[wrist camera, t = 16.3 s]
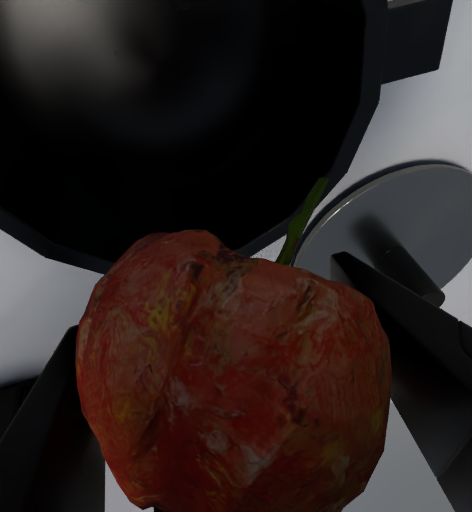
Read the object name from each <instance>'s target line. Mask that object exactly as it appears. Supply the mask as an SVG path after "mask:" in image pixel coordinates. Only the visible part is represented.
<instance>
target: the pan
mask: <svg viewBox="0 0 472 512" xmlns="http://www.w3.org/2000/svg"><path fill="white" fill-rule="evenodd" d="M452 2H453V0H392V1H387V0H0V229H1V230H3V231H4V232H6V233H7V234H9V235H11V236H12V237H14V238H15V239H17V240H18V241H20V242H21V243H23V244H25V245H26V246H28V247H29V248H31V249H32V250H34V251H36V252H37V253H39V254H40V255H42V256H44V257H45V258H49V259H52V260H56V261H59V262H63V263H66V264H69V265H73V266H76V267H80V268H83V269H87V270H90V271H94V272H97V273H101V274H104V275H105V274H106V273H107V272H108V271H109V270H110V268H111V267H112V266H113V265H114V264H115V263H116V262H117V261H118V260H119V258H120V257H121V256H122V255H123V254H124V253H125V252H126V250H128V249H129V248H130V247H131V246H132V245H133V244H134V243H135V242H136V241H137V240H140V239H142V238H144V237H145V236H147V235H149V234H151V233H162V232H164V233H173V232H176V233H177V232H180V231H183V230H196V229H197V230H207V231H208V232H210V233H212V234H213V235H215V236H217V237H218V238H219V239H220V241H221V242H222V243H223V244H224V246H225V247H227V248H228V249H230V250H232V251H233V252H236V253H238V254H241V255H244V256H247V257H251V256H252V255H254V254H256V253H257V252H259V251H260V250H262V249H264V248H265V247H267V246H268V245H270V244H272V243H273V242H275V241H276V240H278V239H280V238H281V237H283V236H284V235H286V234H287V231H288V225H289V223H290V222H291V220H292V219H293V218H294V217H295V216H297V215H298V214H299V213H300V212H301V210H302V207H303V205H304V202H305V200H306V197H307V196H308V194H309V193H310V191H311V189H312V188H313V186H314V185H315V183H316V182H317V180H318V179H319V177H320V178H328V179H329V180H328V183H327V185H326V187H325V189H324V191H323V193H322V195H321V197H320V199H319V201H318V203H317V205H316V207H317V206H318V205H319V204H320V203H321V201H322V200H323V199H324V198H325V197H326V196H327V195H328V193H329V192H330V191H331V190H332V189H333V188H334V187H335V186H336V184H337V183H338V182H339V181H340V180H341V179H342V178H343V177H344V175H345V174H346V173H347V172H348V169H349V167H350V165H351V163H352V161H353V158H354V156H355V154H356V152H357V150H358V147H359V145H360V143H361V141H362V139H363V136H364V134H365V132H366V130H367V128H368V125H369V123H370V121H371V119H372V117H373V114H374V112H375V110H376V108H377V106H378V103H379V102H378V101H379V99H380V90H381V84H385V83H389V82H393V81H397V80H400V79H404V78H408V77H412V76H416V75H420V74H423V73H427V72H431V71H435V70H438V69H439V65H440V60H441V55H442V51H443V46H444V41H445V36H446V31H447V26H448V22H449V17H450V12H451V7H452ZM316 207H315V208H316Z"/></svg>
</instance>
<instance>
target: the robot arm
mask: <svg viewBox="0 0 472 512" xmlns="http://www.w3.org/2000/svg"><path fill="white" fill-rule="evenodd" d="M330 279H331V281H336V282H341V283H343V284H345V285H347V286H350V287H352V288H353V289H355V290H357V291H359V292H361V293H362V294H364V295H366V296H367V297H369V299H370V300H371V301H372V302H373V304H374V308H375V312H376V314H377V316H378V319H379V321H380V324H381V326H382V328H383V330H384V331H385V333H386V334H387V336H388V339H389V345H390V357H391V369H392V386H391V396H390V398H391V400H392V401H393V403H394V405H395V407H396V408H397V410H398V411H399V414H400V415H401V417H402V419H403V420H404V422H405V424H406V426H407V428H408V429H409V431H410V433H411V434H412V436H413V438H414V440H415V442H416V443H417V445H418V447H419V449H420V450H421V452H422V454H423V456H424V457H425V459H426V461H427V463H428V465H429V466H430V468H431V470H432V472H433V473H434V475H435V476H436V477H437V481H438V482H439V484H440V486H441V488H442V489H443V491H444V493H445V495H446V496H447V498H448V500H449V502H450V503H451V505H452V507H453V509H454V511H455V512H472V327H470V326H469V325H467V324H465V323H464V322H462V321H458V319H457V318H455V317H454V316H452V315H450V314H449V313H447V312H445V311H444V310H442V309H440V308H439V307H437V306H435V305H434V304H432V303H431V302H429V301H427V300H426V299H424V298H422V297H421V296H419V295H417V294H416V293H414V292H412V291H411V290H409V289H407V288H406V287H404V286H403V285H401V284H399V283H398V282H396V281H394V280H393V279H391V278H389V277H388V276H386V275H384V274H383V273H381V272H380V271H378V270H376V269H375V268H373V267H371V266H370V265H368V264H366V263H365V262H363V261H361V260H360V259H358V258H356V257H355V256H353V255H352V254H350V253H348V252H346V251H342V252H339V253H335V254H332V255H331V258H330ZM78 327H79V324H78V325H75V326H72V327H70V328H69V329H68V330H67V332H66V333H65V335H64V337H63V338H62V340H61V342H60V343H59V345H58V346H57V348H56V350H55V351H54V353H53V355H52V356H51V358H50V360H49V361H48V363H47V365H46V366H45V368H44V369H43V371H42V373H41V374H40V376H39V378H36V379H33V380H29V381H26V382H23V383H19V384H16V385H12V386H9V387H6V388H2V389H0V512H105V458H104V457H103V454H102V451H101V447H100V443H99V441H98V439H97V438H96V436H95V434H94V432H93V431H92V429H91V428H90V426H89V424H88V421H87V419H86V418H85V416H84V414H83V413H82V411H81V402H80V397H79V393H78V388H77V375H76V364H75V361H76V337H77V332H78Z"/></svg>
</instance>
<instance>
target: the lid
mask: <svg viewBox="0 0 472 512" xmlns="http://www.w3.org/2000/svg"><path fill="white" fill-rule="evenodd" d="M342 251H346V252H348V253H350V254H352V255H353V256H355V257H356V258H358V259H360V260H361V261H363V262H365V263H366V264H368V265H370V266H371V267H373V268H375V269H376V270H378V271H380V272H381V273H383V274H384V275H386V276H388V277H389V278H391V279H393V280H394V281H396V282H398V283H399V284H401V285H403V286H404V287H406V288H407V289H409V290H411V291H412V292H414V293H416V294H417V295H419V296H421V297H422V298H424V299H426V300H427V301H429V302H431V303H432V304H434V305H435V306H437V307H440V306H441V305H442V304H443V302H444V300H445V294H444V293H443V292H442V291H441V290H440V289H441V288H443V287H444V286H445V285H446V284H447V283H448V282H450V281H451V280H452V279H453V278H454V277H455V276H456V275H457V274H458V273H459V272H460V271H461V270H462V269H463V268H464V266H465V265H466V264H467V263H468V262H469V261H470V259H471V258H472V174H471V173H469V172H468V171H466V170H464V169H461V168H459V167H455V166H450V165H443V164H428V165H418V166H414V167H409V168H404V169H401V170H398V171H395V172H392V173H389V174H387V175H385V176H382V177H380V178H378V179H376V180H373V181H372V182H370V183H368V184H366V185H364V186H363V187H361V188H359V189H357V190H356V191H355V192H353V193H352V194H350V195H349V196H347V197H346V198H344V199H343V200H342V201H341V202H339V203H338V204H337V205H336V206H335V207H333V208H332V209H331V210H330V211H329V212H328V213H327V214H326V215H325V216H324V217H323V218H322V219H321V220H320V221H319V222H318V224H317V225H316V226H315V227H314V228H313V230H312V231H311V232H310V234H309V235H308V237H307V238H306V240H305V241H304V243H303V244H302V246H301V248H300V250H299V252H298V254H297V257H296V260H295V263H294V266H293V267H297V268H302V269H305V270H308V271H310V272H312V273H314V274H316V275H318V276H321V277H323V278H325V279H327V280H331V279H330V258H331V255H332V254H335V253H339V252H342Z"/></svg>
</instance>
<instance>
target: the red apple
mask: <svg viewBox="0 0 472 512" xmlns="http://www.w3.org/2000/svg"><path fill="white" fill-rule="evenodd" d="M328 180H329V179H328V178H320V177H319V179H318V180H317V182H316V183H315V185H314V186H313V188H312V189H311V191H310V193H309V194H308V196H307V197H306V200H305V202H304V205H303V207H302V210H301V212H300V213H299V214H298V215H297V216H295V217H294V218H293V219H292V220H291V222H290V223H289V225H288V231H287V237H286V241H285V243H284V245H283V248H282V250H281V252H280V254H279V256H278V258H277V259H276V261H275V262H273V261H270V260H266V259H263V258H250V257H247V256H244V255H241V254H238V253H236V252H233V251H232V250H230V249H228V248H227V247H225V246H224V244H223V243H222V242H221V241H220V239H219V238H218V237H217V236H215V235H213V234H212V233H210V232H208V231H207V230H197V229H196V230H183V231H180V232H177V233H176V232H173V233H164V232H162V233H151V234H149V235H147V236H145V237H144V238H142V239H140V240H137V241H136V242H135V243H134V244H133V245H132V246H131V247H130V248H129V249H128V250H126V252H125V253H124V254H123V255H122V256H121V257H120V258H119V260H118V261H117V262H116V263H115V264H114V265H113V266H112V267H111V268H110V270H109V271H108V272H107V273H106V274H105V275H104V276H103V277H102V278H101V279H100V280H99V281H98V282H97V283H96V285H95V287H94V289H93V292H92V294H91V297H90V299H89V302H88V305H87V307H86V310H85V312H84V315H83V316H82V318H81V320H80V322H79V327H78V332H77V337H76V361H75V364H76V375H77V388H78V393H79V397H80V402H81V411H82V413H83V414H84V416H85V418H86V419H87V421H88V424H89V426H90V428H91V429H92V431H93V432H94V434H95V436H96V438H97V439H98V441H99V443H100V447H101V451H102V454H103V457H104V458H105V460H106V462H107V464H108V466H109V468H110V470H111V472H112V474H113V475H114V477H115V479H116V481H117V483H118V485H119V486H120V488H121V489H122V490H123V492H124V493H125V495H126V496H127V498H128V499H129V501H130V502H131V503H133V504H134V505H136V506H137V507H139V508H140V509H142V510H144V509H147V508H150V507H154V512H341V511H342V509H343V508H344V507H345V506H346V505H347V504H349V503H350V502H351V501H352V500H354V499H355V498H356V497H357V496H359V495H360V494H361V493H362V492H364V490H365V488H366V485H367V483H368V481H369V479H370V477H371V475H372V473H373V471H374V469H375V467H376V465H377V463H378V461H379V459H380V457H381V455H382V453H383V451H384V445H385V437H386V429H387V422H388V415H389V406H390V396H391V386H392V369H391V357H390V345H389V339H388V336H387V334H386V333H385V331H384V330H383V328H382V326H381V324H380V321H379V319H378V316H377V314H376V312H375V308H374V304H373V302H372V301H371V300H370V299H369V297H367V296H366V295H364V294H362V293H361V292H359V291H357V290H355V289H353V288H352V287H350V286H347V285H345V284H343V283H341V282H336V281H331V280H327V279H325V278H323V277H321V276H318V275H316V274H314V273H312V272H310V271H308V270H305V269H302V268H297V267H292V266H289V265H290V262H291V259H292V256H293V253H294V250H295V248H296V246H297V244H298V241H299V239H300V237H301V235H302V233H303V231H304V229H305V227H306V225H307V223H308V221H309V219H310V217H311V215H312V213H313V211H314V209H315V207H316V205H317V203H318V201H319V199H320V197H321V195H322V193H323V191H324V189H325V187H326V185H327V183H328Z"/></svg>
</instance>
